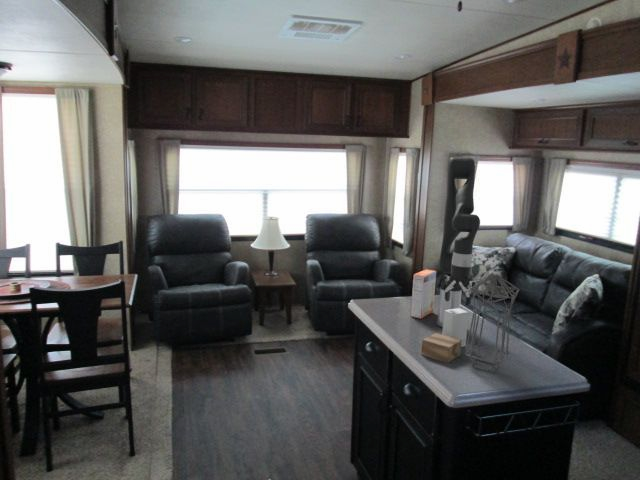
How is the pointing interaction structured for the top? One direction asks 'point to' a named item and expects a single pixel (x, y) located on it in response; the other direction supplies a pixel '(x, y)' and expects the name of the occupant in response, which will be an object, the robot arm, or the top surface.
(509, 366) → the top surface
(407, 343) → the top surface
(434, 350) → the light brown block
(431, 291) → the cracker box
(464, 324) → the skincare box
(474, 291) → the geometric lantern
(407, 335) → the top surface
